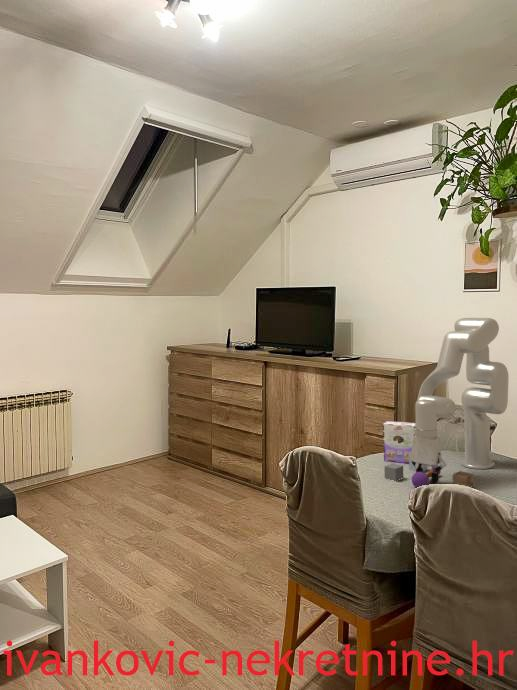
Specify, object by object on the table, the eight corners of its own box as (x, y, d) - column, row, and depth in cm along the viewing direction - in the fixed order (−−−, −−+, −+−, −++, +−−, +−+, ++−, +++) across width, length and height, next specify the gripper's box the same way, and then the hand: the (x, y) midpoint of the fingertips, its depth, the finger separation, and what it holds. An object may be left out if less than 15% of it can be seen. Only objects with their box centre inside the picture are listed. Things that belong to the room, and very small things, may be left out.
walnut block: (460, 484, 204) (460, 471, 203) (473, 487, 200) (473, 473, 200) (453, 487, 201) (452, 474, 200) (466, 490, 197) (465, 477, 196)
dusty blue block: (416, 467, 226) (416, 455, 225) (427, 470, 222) (427, 457, 222) (409, 470, 222) (409, 458, 222) (420, 473, 219) (420, 460, 218)
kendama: (445, 466, 213) (426, 476, 197) (442, 481, 213) (423, 492, 197) (430, 461, 216) (410, 471, 200) (427, 475, 217) (407, 486, 201)
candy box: (419, 461, 234) (418, 422, 233) (415, 464, 229) (415, 425, 228) (387, 457, 241) (386, 420, 240) (383, 461, 236) (382, 423, 235)
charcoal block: (392, 475, 217) (392, 463, 216) (403, 478, 213) (403, 465, 212) (384, 479, 213) (384, 466, 213) (395, 481, 210) (395, 468, 209)
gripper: (400, 431, 209) (401, 478, 211) (442, 438, 196) (442, 488, 198) (412, 427, 214) (412, 473, 215) (453, 434, 201) (453, 483, 203)
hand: (427, 480), depth 207 cm, fingers closed on kendama, 5 cm apart
